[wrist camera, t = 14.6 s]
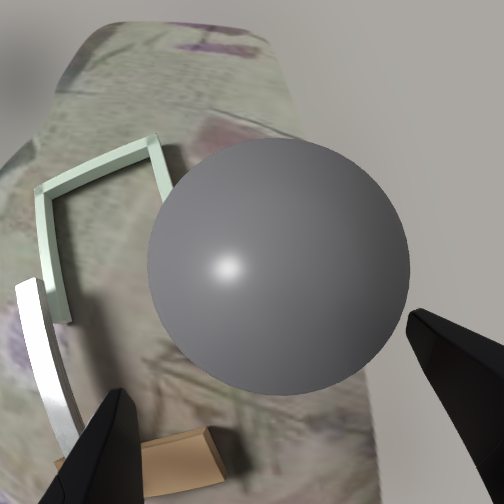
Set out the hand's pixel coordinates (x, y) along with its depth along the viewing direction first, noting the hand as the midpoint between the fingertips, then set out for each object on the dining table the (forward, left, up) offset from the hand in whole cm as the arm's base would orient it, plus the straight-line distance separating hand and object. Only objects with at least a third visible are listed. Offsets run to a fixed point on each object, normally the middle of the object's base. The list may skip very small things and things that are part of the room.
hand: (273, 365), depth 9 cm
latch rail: (-4, +9, -9) cm, 13 cm away
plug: (+2, -1, -9) cm, 9 cm away
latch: (+1, +11, -6) cm, 13 cm away
